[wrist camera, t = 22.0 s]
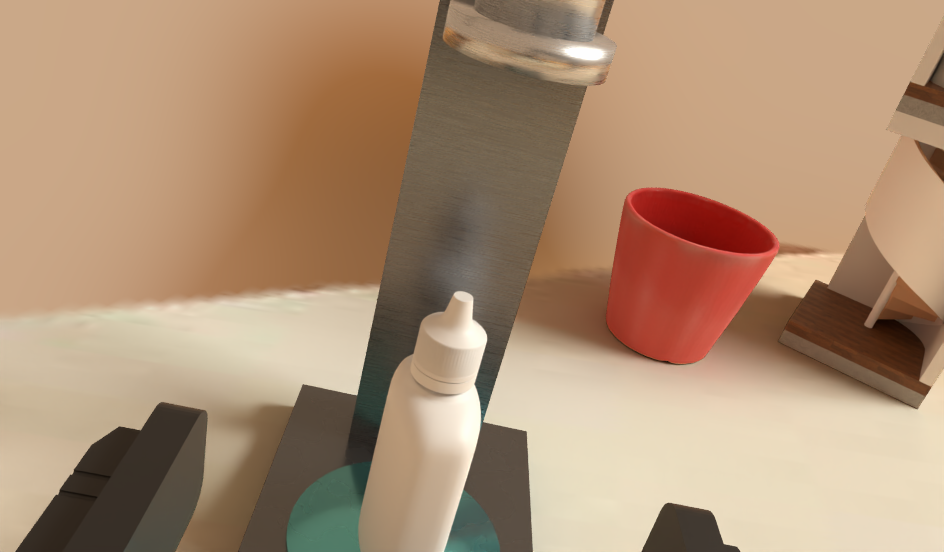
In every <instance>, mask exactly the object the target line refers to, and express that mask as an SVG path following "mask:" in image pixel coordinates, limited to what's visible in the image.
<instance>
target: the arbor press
mask: <svg viewBox="0 0 944 552" xmlns="http://www.w3.org/2000/svg"><path fill="white" fill-rule="evenodd" d="M613 1H614V0H440V2H439V7H438V12H437V17H436V22H435V26H434V31H433V36H432V41H431V46H430V50H429V55H428V60H427V65H426V69H425V74H424V79H423V84H422V89H421V93H420V98H419V103H418V108H417V112H416V118H415V122H414V127H413V132H412V137H411V142H410V146H409V151H408V156H407V160H406V165H405V170H404V175H403V180H402V184H401V189H400V194H399V199H398V204H397V208H396V213H395V218H394V223H393V228H392V232H391V238H390V242H389V247H388V252H387V256H386V261H385V266H384V271H383V275H382V280H381V285H380V290H379V295H378V299H377V304H376V309H375V314H374V319H373V323H372V328H371V333H370V338H369V342H368V347H367V352H366V357H365V362H364V366H363V371H362V376H361V381H360V386H359V390H358V395H357V396H356V395H351V394H346V393H342V392H337V391H332V390H327V389H323V388H318V387H313V386H308V385H304V384H303V385H302V388H301V391H300V393H299V396H298V398H297V401H296V403H295V406H294V409H293V411H292V414H291V416H290V419H289V422H288V424H287V427H286V429H285V432H284V434H283V437H282V440H281V442H280V445H279V447H278V450H277V453H276V455H275V458H274V460H273V463H272V465H271V468H270V471H269V473H268V476H267V478H266V481H265V484H264V486H263V489H262V491H261V494H260V496H259V499H258V502H257V504H256V507H255V509H254V512H253V515H252V517H251V520H250V522H249V525H248V527H247V530H246V533H245V535H244V538H243V540H242V543H241V546H240V548H239V551H238V552H361V551H360V546H359V538H358V526H359V517H360V511H361V507H362V503H363V498H364V494H365V490H366V485H367V481H368V477H369V472H370V468H371V464H372V459H373V455H374V451H375V446H376V442H377V438H378V433H379V429H380V425H381V421H382V416H383V412H384V408H385V404H386V399H387V395H388V391H389V387H390V384H391V380H392V378H393V375H394V373H395V371H396V369H397V367H398V366H399V364H400V363H401V362H402V361H403V360H404V359H405V358H406V357H408V356H410V355H412V354H414V350H415V346H416V342H417V337H418V333H419V329H420V325H421V322H422V320H423V319H424V318H425V317H427V316H428V315H430V314H433V313H436V312H445V310H446V308H447V306H448V305H449V303H450V301H451V299H452V297H453V295H454V293H455V292H457V291H463V292H467V293H469V294H471V295H472V296H473V314H472V319H473V320H474V321H476V322H477V323H478V324H480V325H481V326H482V328H483V329H484V330H485V332H486V334H487V343H486V346H485V350H484V353H483V356H482V360H481V363H480V367H479V370H478V373H477V377H476V380H475V383H474V385H475V387H476V390H477V393H478V397H479V402H480V410H481V423H480V431H479V436H478V441H477V445H476V448H475V452H474V455H473V459H472V462H471V466H470V469H469V472H468V476H467V479H466V482H465V485H464V489H463V492H462V495H461V498H460V502H459V505H458V508H457V511H456V515H455V518H454V521H453V524H452V527H451V531H450V534H449V537H448V540H447V544H446V547H445V550H444V552H533V547H532V528H531V508H530V489H529V469H528V449H527V432H526V431H522V430H517V429H512V428H507V427H503V426H498V425H493V424H489V423H484V422H483V420H484V417H485V414H486V410H487V407H488V404H489V401H490V397H491V394H492V391H493V388H494V385H495V381H496V378H497V375H498V372H499V368H500V365H501V362H502V359H503V356H504V352H505V349H506V346H507V343H508V339H509V336H510V333H511V330H512V327H513V323H514V320H515V317H516V314H517V310H518V307H519V304H520V301H521V298H522V294H523V291H524V288H525V285H526V282H527V278H528V275H529V272H530V269H531V265H532V262H533V259H534V256H535V252H536V249H537V246H538V243H539V240H540V236H541V233H542V230H543V227H544V224H545V220H546V217H547V214H548V210H549V207H550V204H551V201H552V198H553V195H554V191H555V188H556V185H557V182H558V178H559V175H560V172H561V169H562V166H563V162H564V159H565V156H566V153H567V150H568V146H569V143H570V140H571V137H572V133H573V130H574V127H575V124H576V120H577V117H578V114H579V111H580V108H581V104H582V101H583V98H584V95H585V92H586V88H587V86H588V85H589V86H590V85H600V84H602V83H604V82H605V81H606V78H607V75H608V72H609V69H610V66H611V63H612V60H613V56H614V53H615V50H616V47H617V45H616V43H615V42H614V41H612V40H611V39H609V38H608V37H606V36H604V35H603V34H604V30H605V27H606V24H607V21H608V17H609V14H610V11H611V8H612V5H613Z"/></svg>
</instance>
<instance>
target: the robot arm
mask: <svg viewBox="0 0 944 552" xmlns="http://www.w3.org/2000/svg"><path fill="white" fill-rule="evenodd" d="M206 432H207V412H206V411H205V410H200V409H195V408H190V407H185V406H179V405H174V404H169V403H164V402H161V403H159V404H158V405H157V406H156V408H155V409H154V411H153V412H152V414H151V415H150V417H149V419H148V420H147V422H146V423H145V425H144V426H143V428H142V429H141V431H140V430H135V429H130V428H125V427H120V426H119V427H118V428H116V429H115V430H113V431H112V432H110V433H109V434H108V435H106V436H105V437H103V438H102V439H100V440H99V441H97V442H96V443H94V444H93V445H91V447H90V448H89V449H88V451H87V452H86V454H85V455H84V456H83V458H82V459H81V461H80V462H79V463H78V465H77V466H76V468H75V469H74V472H73V474H72V475H70V476H69V477H68V479H67V480H66V482H65V483H64V484H63V486H62V487H61V489H60V491H59V494H58V495H56V496H55V497H54V498H53V500H52V501H51V503H50V504H49V505H48V507H47V508H46V510H45V511H44V512H43V514H42V515H41V517H40V518H39V519H38V521H37V522H36V524H35V525H34V526H33V528H32V529H31V531H30V532H29V533H28V535H27V536H26V537H25V539H24V540H23V542H22V543H21V544H20V546H19V547H18V549H17V550H16V551H15V552H175V551H176V548H177V546H178V544H179V542H180V540H181V538H182V536H183V534H184V532H185V530H186V528H187V526H188V523H189V521H190V519H191V517H192V515H193V513H194V510H195V508H196V505H197V502H198V499H199V495H200V491H201V487H202V482H203V473H204V459H205V446H206ZM642 552H740V550H739V549H738V548H737V547H735V546H730V545H725V544H723V541H722V538H721V535H720V532H719V529H718V526H717V523H716V520H715V517H714V515H713V514H712V512H711V511H709V510H704V509H699V508H694V507H688V506H683V505H678V504H673V503H666V504H665V505H664V506H663V508H662V509H661V511H660V513H659V515H658V517H657V520H656V522H655V524H654V526H653V528H652V530H651V532H650V535H649V537H648V539H647V541H646V543H645V545H644V547H643V550H642Z"/></svg>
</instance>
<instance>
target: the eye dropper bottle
mask: <svg viewBox="0 0 944 552" xmlns="http://www.w3.org/2000/svg"><path fill="white" fill-rule="evenodd" d="M472 314H473V296H472V295H471V294H469V293H467V292H463V291H457V292H455V293H454V295H453V297H452V299H451V301H450V303H449V305H448V306H447V308H446V310H445V312H436V313H433V314H430V315H428V316H427V317H425V318H424V319H423V320H422V322H421V325H420V329H419V333H418V337H417V342H416V346H415V350H414V354H412V355H410V356H408V357H406V358H405V359H404V360H403V361H402V362H401V363H400V364H399V366H398V367H397V369H396V371H395V373H394V375H393V378H392V380H391V384H390V387H389V391H388V395H387V399H386V404H385V408H384V412H383V416H382V421H381V425H380V429H379V433H378V438H377V442H376V446H375V451H374V455H373V459H372V464H371V468H370V472H369V477H368V481H367V485H366V490H365V494H364V498H363V503H362V507H361V511H360V517H359V526H358V538H359V546H360V551H361V552H444V550H445V547H446V544H447V540H448V537H449V534H450V531H451V527H452V524H453V521H454V518H455V515H456V511H457V508H458V505H459V502H460V498H461V495H462V492H463V489H464V485H465V482H466V479H467V476H468V472H469V469H470V466H471V462H472V459H473V455H474V452H475V448H476V445H477V441H478V436H479V431H480V423H481V410H480V402H479V397H478V393H477V390H476V387H475V385H474V383H475V380H476V377H477V373H478V370H479V367H480V363H481V360H482V356H483V353H484V350H485V346H486V343H487V334H486V332H485V330H484V329H483V328H482V326H481V325H480V324H478V323H477V322H476V321H474V320H473V319H472Z"/></svg>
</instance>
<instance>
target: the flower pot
mask: <svg viewBox="0 0 944 552" xmlns="http://www.w3.org/2000/svg"><path fill="white" fill-rule="evenodd" d="M778 250H779V242H778V240H777V238H776V237H775V235H774V234H773V233H772V232H771V231H770V230H769V229H767V228H766V227H765V226H763V225H762V224H761V223H759V222H758V221H756V220H755V219H753V218H751V217H750V216H748V215H746V214H744V213H742V212H740V211H738V210H736V209H734V208H731V207H729V206H727V205H724V204H722V203H719V202H717V201H714V200H711V199H708V198H705V197H702V196H699V195H695V194H692V193H687V192H683V191H678V190H673V189H666V188H641V189H637V190H635V191H632V192H631V193H629V194H628V195H627V197H626V199H625V202H624V206H623V211H622V216H621V222H620V228H619V233H618V239H617V245H616V251H615V257H614V263H613V269H612V276H611V283H610V290H609V298H608V305H607V313H606V322H607V325H608V327H609V329H610V331H611V332H612V333H613V335H614V336H615V337H616V338H617V339H618V340H620V341H621V342H622V343H623V344H625V345H626V346H628V347H629V348H631V349H633V350H634V351H636V352H638V353H640V354H643V355H645V356H647V357H650V358H653V359H656V360H663V361H669V362H671V363H675V364H689V363H694V362H697V361H699V360H701V359H703V358H704V357H705V356H706V354H707V353H708V352H709V350H710V349H711V348H712V346H713V345H714V343H715V342H716V341H717V339H718V338H719V337H720V335H721V334H722V333H723V331H724V330H725V329H726V327H727V326H728V325H729V323H730V322H731V320H732V319H733V318H734V316H735V315H736V314H737V312H738V311H739V309H740V308H741V306H742V305H743V303H744V302H745V301H746V299H747V298H748V296H749V295H750V293H751V292H752V290H753V289H754V287H755V286H756V285H757V283H758V282H759V280H760V279H761V277H762V276H763V274H764V273H765V271H766V270H767V268H768V267H769V265H770V264H771V262H772V260H773V259H774V257H775V256H776V254H777V252H778Z"/></svg>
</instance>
